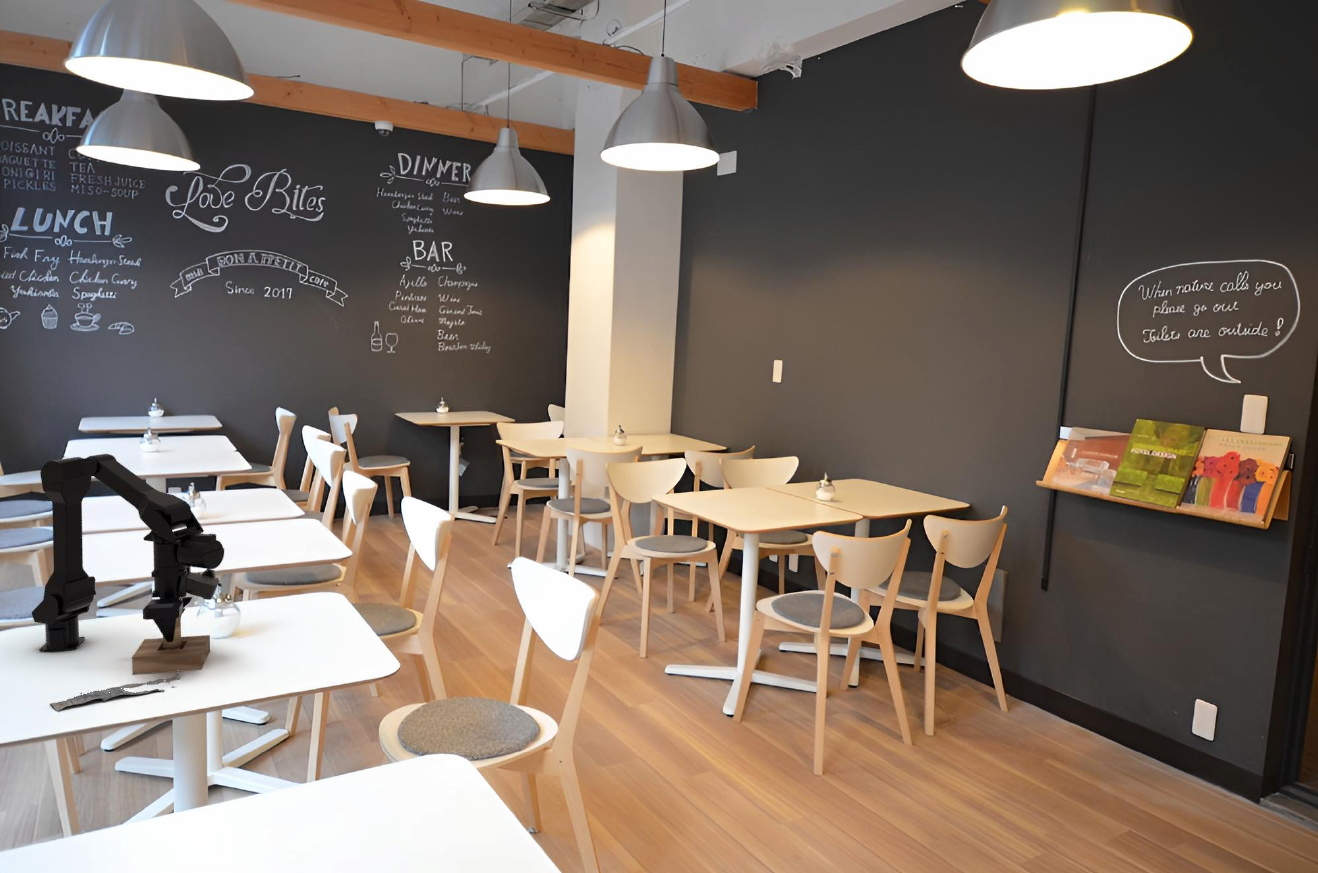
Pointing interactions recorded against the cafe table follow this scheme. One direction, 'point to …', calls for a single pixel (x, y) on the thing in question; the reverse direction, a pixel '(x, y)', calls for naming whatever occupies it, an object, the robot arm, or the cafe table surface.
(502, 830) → the cafe table surface
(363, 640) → the cafe table surface
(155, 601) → the robot arm
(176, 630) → the peg
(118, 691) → the driftwood
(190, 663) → the board
